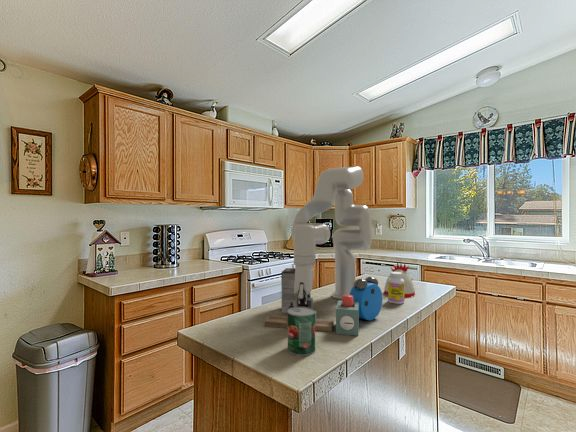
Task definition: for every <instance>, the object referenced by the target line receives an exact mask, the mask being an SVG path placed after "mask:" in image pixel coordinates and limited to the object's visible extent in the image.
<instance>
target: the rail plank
mask: <svg viewBox="0 0 576 432" xmlns="http://www.w3.org/2000/svg"><path fill="white" fill-rule="evenodd" d="M334 324H335V321H334V319H326V318H324V319H323V318H316V320H315V331H322V332H330V333H331V332H332V331H333V328H334ZM264 326H265V327H276V328H286V329H288V315H276V314H275V315H274V314H270V315H269V316H268V317H267V318H266V319H265V320H264Z"/></svg>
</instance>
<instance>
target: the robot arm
mask: <svg viewBox="0 0 576 432" xmlns="http://www.w3.org/2000/svg"><path fill="white" fill-rule="evenodd" d="M364 176H365V175H364V172H363V169H362V168H361V167H360V166H346V167H333V168H328V169H326V170H324V171H322V172H321V173H320V175H319V176H318V180H317V184H316V187H315V190H314V193H313V197H312V199H310V200H309V201H308V202H306V204H304V205H303V206H302V207H301V208H300V209H299V210H298V211H297V213H296V214H295V217H294V219H293V223H292V226H291V234H290V235H291V239H292V240H293V265H294V266H295V283H294V294H295V295H297V294H298V293H299V304H298V306H299V307H308V304H307V298H312V297H311V292H312V290H313V288H314V286H313V285H314V271H313V270H314V267H313V266H316V263H317V262H316V258H317V257H316V251H317V249H316V245H323V244H326V243H327V242H328V241H330V238H331V230H330V228H329V226H328V225H326V224H325V223H321V222H320V223H319V222H317V223H314V222H309V220H311V219H312V218H313V217H315V216H317V215H321V214H322V213H324V212H327V211H329V210H331V209H332V208H333V207H334V216H335V217H334V218H335V223H336V224H337V225H338V226H341V227H359V228H339V229H336V230H335V231H334V232H333V234H332V243H333V247H334V248H333V249H334V282H335V283H334V291H332V293H331V297H332V298H333V299H336V300H341V301H342V295H350V291H351V289H352V287H353V286H354V282H355V281H356V280H357V267H356V266H357V260H356V256H355V255H354V253H353V250H354V251H367V250H369V249H370V248H371V247H372V243H373V238H372V237H373V236H372V216H371V211H370V208H369V207H368V206H367V205H364V204H355V203H354V194H353V191H352V190H353V189H356V188H358V187H359V186H361V185H362V184H363V182H364Z"/></svg>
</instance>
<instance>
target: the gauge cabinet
mask: <svg viewBox="0 0 576 432" xmlns="http://www.w3.org/2000/svg"><path fill="white" fill-rule="evenodd" d="M359 319H360V318H359V302H357V301H353V307H342V300H341V299H337V304H336V307H335V334H336V335H347V336H359V326H360V322H359V321H360V320H359Z"/></svg>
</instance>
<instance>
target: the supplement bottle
mask: <svg viewBox="0 0 576 432" xmlns="http://www.w3.org/2000/svg"><path fill="white" fill-rule="evenodd" d="M390 274H391V278H389V280H388V295H387V300H388V302H389V303H391V304H394V305H396V304H397V305H402V304H404V303H405V297H404V280H403V279H402V273H401V272H393V271H391V272H390Z"/></svg>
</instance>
